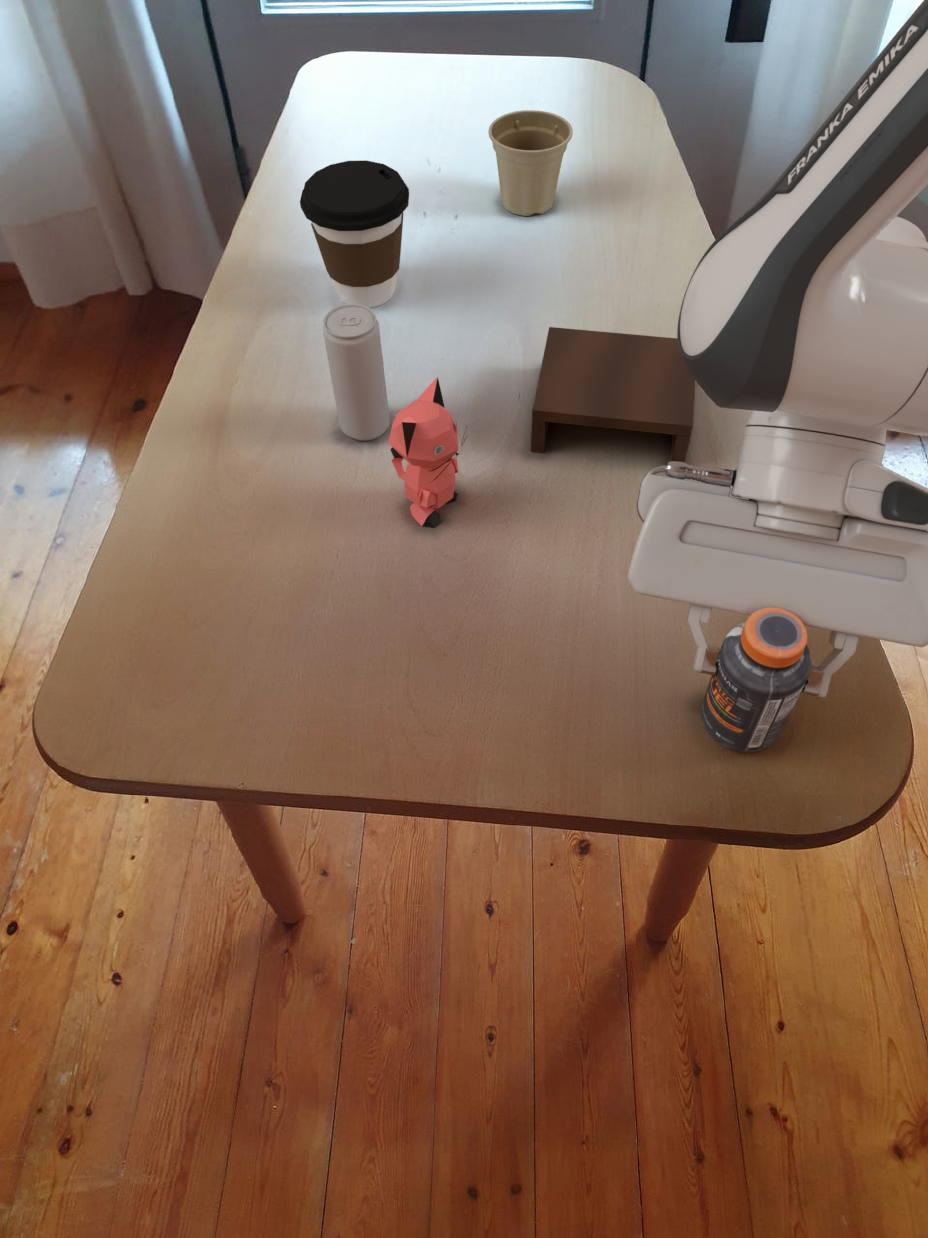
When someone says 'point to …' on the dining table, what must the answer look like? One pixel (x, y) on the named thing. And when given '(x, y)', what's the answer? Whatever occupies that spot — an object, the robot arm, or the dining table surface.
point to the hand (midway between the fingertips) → (758, 683)
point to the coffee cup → (358, 227)
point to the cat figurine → (426, 454)
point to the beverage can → (357, 371)
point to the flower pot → (529, 158)
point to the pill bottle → (757, 680)
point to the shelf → (614, 386)
